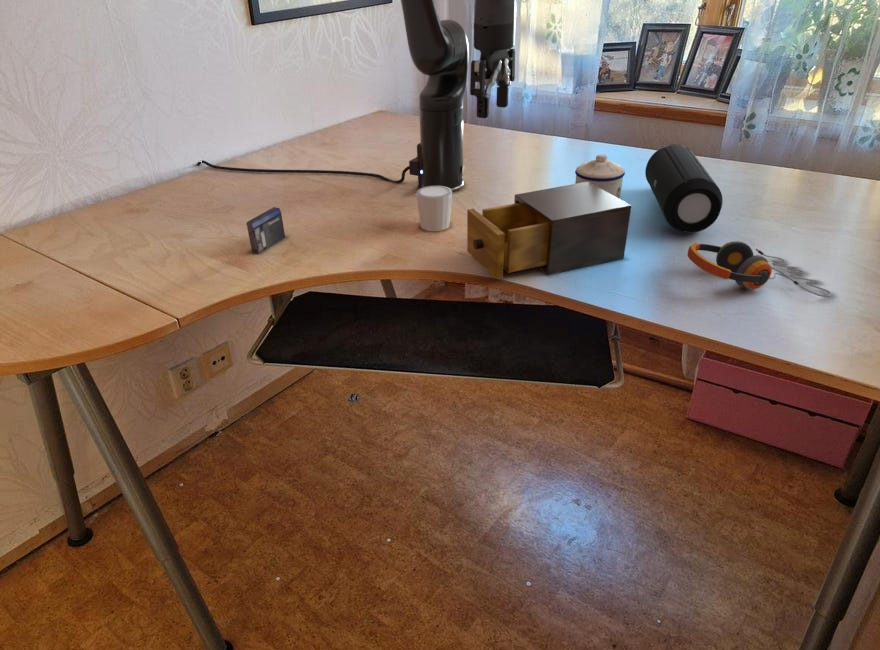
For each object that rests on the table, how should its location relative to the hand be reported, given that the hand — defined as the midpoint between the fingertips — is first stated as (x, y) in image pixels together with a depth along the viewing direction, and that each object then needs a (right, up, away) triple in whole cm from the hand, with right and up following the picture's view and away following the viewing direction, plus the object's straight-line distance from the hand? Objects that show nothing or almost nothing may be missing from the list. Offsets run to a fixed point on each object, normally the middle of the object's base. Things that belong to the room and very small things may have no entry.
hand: (492, 112), depth 128 cm
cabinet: (+11, -29, -12) cm, 34 cm away
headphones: (+37, -36, -24) cm, 57 cm away
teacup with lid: (+21, -19, +2) cm, 28 cm away
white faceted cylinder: (-11, -22, +1) cm, 25 cm away
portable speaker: (+36, -20, 0) cm, 41 cm away
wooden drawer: (+2, -31, -15) cm, 35 cm away
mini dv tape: (-43, -27, -3) cm, 51 cm away
